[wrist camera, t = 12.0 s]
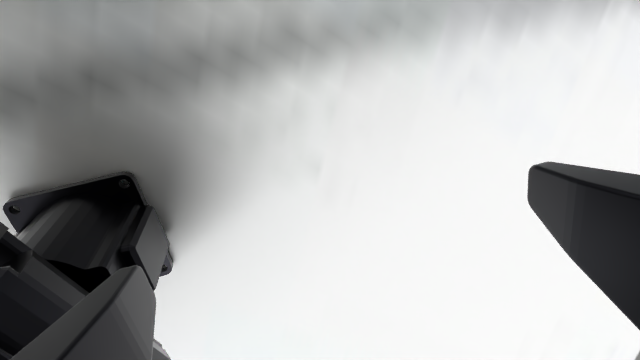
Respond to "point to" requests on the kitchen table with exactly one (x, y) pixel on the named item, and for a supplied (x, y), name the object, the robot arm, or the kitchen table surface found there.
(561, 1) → the kitchen table surface
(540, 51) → the kitchen table surface
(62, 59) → the kitchen table surface
